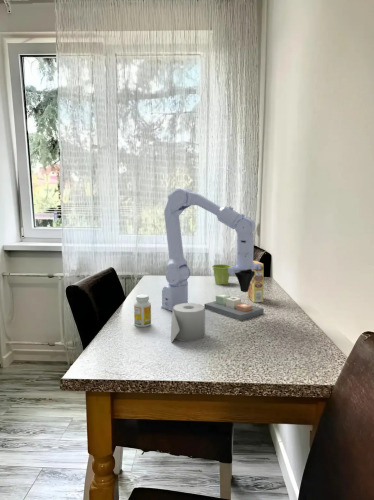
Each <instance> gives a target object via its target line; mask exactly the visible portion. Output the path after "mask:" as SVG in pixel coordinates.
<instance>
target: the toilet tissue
mask: <svg viewBox="0 0 374 500" xmlns="http://www.w3.org/2000/svg"><path fill="white" fill-rule="evenodd" d="M205 311H206V309H205V307H204V305H202V304H200V303H193V302H188V303H182V304H178V305H175V306H174V307H173V311H171V312H172V315H171V326H170V328H171V329H170V342H171V343H173V341H174V340H175V339H176V340H178V341H179V340H180V341H183V342H195V341H199V340H202V339H204V337H205V335H206V334H205V333H206V328H205V326H206V318H205V317H206V315H205V313H206V312H205Z"/></svg>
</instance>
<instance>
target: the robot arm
mask: <svg viewBox="0 0 374 500" xmlns="http://www.w3.org/2000/svg"><path fill="white" fill-rule="evenodd" d="M191 206H197V207H200V208H202V209H204V210H206V211H207V212H209V213H211V214H213V215H215V216H216V217H217V221H218V222H220V223H221V224H223V225H224V226H225V225H226V226H227V227H229V228H230V229H232V230H235V232H236V234H237V236H236V238H237V239H236V265H233V266H232V267H229V268H228V273H229V275H235V277H236V278H237V282H238V285H239V288H240V292H243V293H248V289H249V285H250V282H251V280H252V278H253V276H254V275H255V272H254V271H252V270H254V269H260V263H261V262H260V263H253V261H254V249H255V248H254V247H255V246H254V245H255V243H254V237H255V235H254V234H255V233H254V231H255V230H256V222H255V220H253V219H252V218H251V217H249V216H247V217H245V216H246V214H244V213H239V212H238V211H236V210H234V207H232V206H227V205H226V206H223V207H222V206H220V205H218V204H216V203H215V202H213V201H212V200H210V199H209V198H207V197H205V195H202V194H200V193H198V192H196V191H193V190H191V189H189V188H187V189H185V188H184V189H182V188H175V189H173V190H172V191H171V192H170V194H168V196H167V203H166V205H165V208H164V212H163V214H164V224H165V231H166V232H165V233H166V240H167V248H168V250H167V251H168V256H169V259H168V262H167V265H166V273H165V279H166V281H167V283H168V284H167V285H165V286H163V287H162V289H161V304H162V305H160V306H161V308H163V309H165V310H168V311H169V312H173V307H174V306H175V305H178V304H182V303H189V282H188V280H189V278H190V276H191V269H190V267H189V266H188V262H187V260H186V258H185V256H184V247H183V240H182V239H183V238H182V230H181V220H180V215H181V214H182V213H183V212H184V211H185V210H186V209H188V208H189V207H191Z"/></svg>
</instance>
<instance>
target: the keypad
mask: <svg viewBox="0 0 374 500" xmlns="http://www.w3.org/2000/svg"><path fill="white" fill-rule="evenodd" d="M241 304H247V305H251V306H252V310H251V311H247V312H242V311H239V310H236V308H235V309H233V308H229V307H226V305H224V306H223V305H219V304H216V300H215V301H212V302H206V303H204V305H203V306H204V307H205V310H206V311H211V312H212V313H213V312H214V313H217V314H220V315H223V316H226V317H228V318H231V319H235V320H236V321H237V320H238V321H244V320H247V319H250V318H254V317H257V316H260V315H264V310H265V309H264V308H263V307H260V306H256V305H253V304H249V303H245V302H242V301H241Z"/></svg>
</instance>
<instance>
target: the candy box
mask: <svg viewBox="0 0 374 500" xmlns="http://www.w3.org/2000/svg"><path fill="white" fill-rule="evenodd" d="M253 263H260V269H254V270H252V271H254V272H255V275H254V276H253V278H252V280H251V282H250V285H249V289H248V292H247V298H248V299H250V300H251V301H252V302H253V303H263V302H264V268H265V267H264V263H262V262H260V261H258V260H253Z"/></svg>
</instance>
